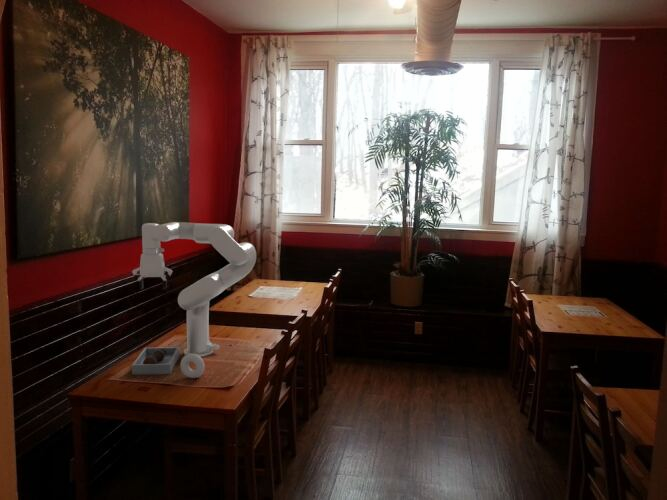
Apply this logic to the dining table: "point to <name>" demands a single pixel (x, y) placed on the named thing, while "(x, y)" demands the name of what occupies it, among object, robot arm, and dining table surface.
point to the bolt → (155, 357)
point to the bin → (161, 366)
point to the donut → (187, 370)
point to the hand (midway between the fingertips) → (153, 289)
